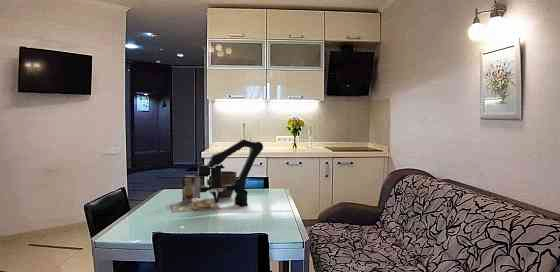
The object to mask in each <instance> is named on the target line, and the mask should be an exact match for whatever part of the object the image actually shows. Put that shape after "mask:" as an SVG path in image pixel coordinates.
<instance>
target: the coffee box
mask: <svg viewBox="0 0 560 272" xmlns="http://www.w3.org/2000/svg"><path fill="white" fill-rule="evenodd" d="M181 178H182V179H181V180H182V181H181V182H182V187H181V188H182V190H181V191H182V193H181V194H182V195H181V196H182V202H187V203H192V198H198V199H201V192H200V191H199V187H200V186H201V177H198V175H192V174H191V175H188V174H187V175H183V176H181Z"/></svg>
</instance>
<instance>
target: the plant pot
mask: <svg viewBox="0 0 560 272" xmlns="http://www.w3.org/2000/svg"><path fill="white" fill-rule="evenodd" d="M234 178H236V179H237V172H236V171H233V170H232V171H231V170H230V171H229V170H228V171H227V170H226V171H223V170H221V186H225V185H230V184H231V185H233V184H232V183H233V181H234ZM233 193H234V190H233V191H228V190H227V189H224V190H223V193H221V195H220V197H219V199H224V198H232V196H233Z"/></svg>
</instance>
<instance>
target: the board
mask: <svg viewBox="0 0 560 272" xmlns="http://www.w3.org/2000/svg"><path fill="white" fill-rule="evenodd" d="M169 207H170V211H171V214H175V213H176V214H177V213H189V212H199V211H200V212H201V211H212V210H221V207H220V206H219V205H218V203H215V201H211V206H209V207H200V209H194V208H193V206H192V202H189V203H180V204H179V203H178V204H177V203H176V204H169Z"/></svg>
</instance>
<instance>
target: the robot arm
mask: <svg viewBox="0 0 560 272" xmlns="http://www.w3.org/2000/svg"><path fill="white" fill-rule="evenodd" d="M263 144H264V143H262V142H260V141H258V140H257V141H256V140H255V141H251V140H247V139H244V138H243V139H240V140H239V141H238V142H236V143H234V144H232V145H230V146H229V147H228V148H226V149H224V150H222V151H219V152H217V153H213V154H211V156H210V160H209V161H208V162H207V164H198V166H197V176H198V177H200V178H207V177H209V176H210V179H207V180H206V185H200V187H199V191H200V193H207V192H208V191H209V193H210V194H212V196H213V199H214V202H215V203H216V204H218V203H219V200H220V198H219V197H220V195H221V193H223V190H224V189H227V190H228V191H233V192H235V196H234V204H235V205H237V206H238V207H244V206H245V207H246V206H249V205H248V193H249V192H248V191H247V190H246V187H245V186H246V181H247V177H248V175H249V173H250V171H251V170H252V167H253V164H254V163H255V160H256V158H257V157H258V156H259V155H260V154H261V152H262V150H264V145H263ZM244 147H246V148H249V152H248V153H249V154H248V156H247V158H246V160H245V162H244V165H243V167H242V168H241V171H240V174H239V175H238V177H236V178H234V181H233V183H232V184H233V185H231V184H230V185H225V186H221V171H222V169H225V166H224V165H223V164H222V163H223V162H224V161H225V160H226V159H227V158H228V157H230V156H232V155H233V154H234V153H236V152H238V151H239V150H241V149H243V148H244Z"/></svg>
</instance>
